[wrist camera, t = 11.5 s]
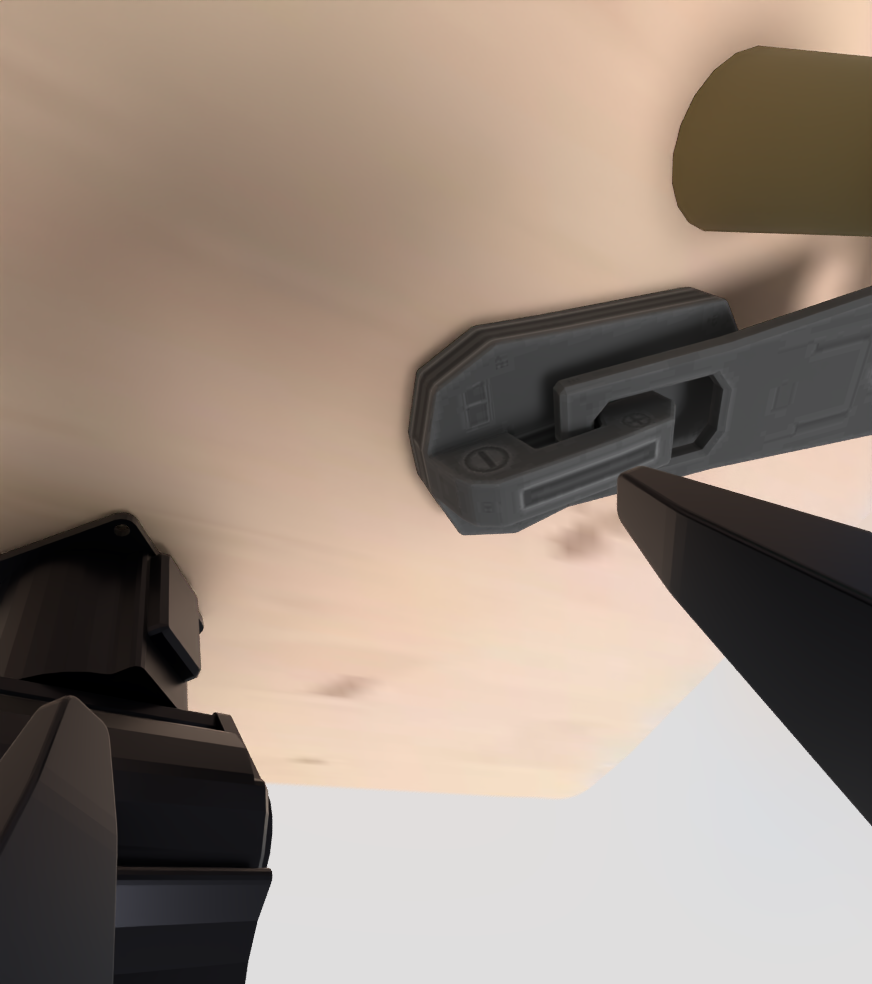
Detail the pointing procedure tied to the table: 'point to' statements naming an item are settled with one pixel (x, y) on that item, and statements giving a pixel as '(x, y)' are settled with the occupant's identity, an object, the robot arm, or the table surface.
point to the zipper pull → (630, 399)
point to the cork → (779, 145)
